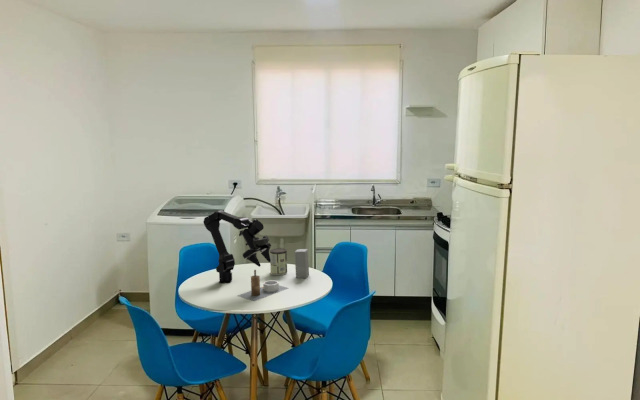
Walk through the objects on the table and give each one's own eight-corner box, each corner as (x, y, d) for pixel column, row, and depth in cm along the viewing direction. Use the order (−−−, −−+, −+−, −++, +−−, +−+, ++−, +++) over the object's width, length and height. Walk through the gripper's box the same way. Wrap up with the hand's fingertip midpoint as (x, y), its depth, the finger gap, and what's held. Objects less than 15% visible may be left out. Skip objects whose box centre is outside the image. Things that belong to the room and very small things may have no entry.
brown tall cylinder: (251, 296, 223) (250, 271, 222) (251, 293, 228) (251, 268, 226) (259, 295, 224) (259, 271, 222) (260, 293, 228) (259, 268, 226)
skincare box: (306, 278, 255) (305, 251, 253) (294, 277, 256) (294, 251, 254) (309, 274, 263) (309, 248, 261) (298, 273, 265) (297, 248, 263)
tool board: (254, 303, 216) (253, 294, 216) (236, 297, 224) (236, 289, 224) (289, 289, 235) (289, 281, 235) (272, 285, 244) (271, 277, 243)
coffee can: (277, 269, 274) (276, 247, 272) (290, 272, 269) (290, 249, 267) (266, 273, 265) (266, 250, 264) (280, 276, 260) (279, 253, 258)
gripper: (249, 235, 224) (264, 261, 222) (270, 228, 241) (284, 252, 238) (236, 245, 230) (250, 271, 227) (257, 238, 246) (271, 262, 244)
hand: (265, 264), depth 234 cm, fingers open, 9 cm apart
